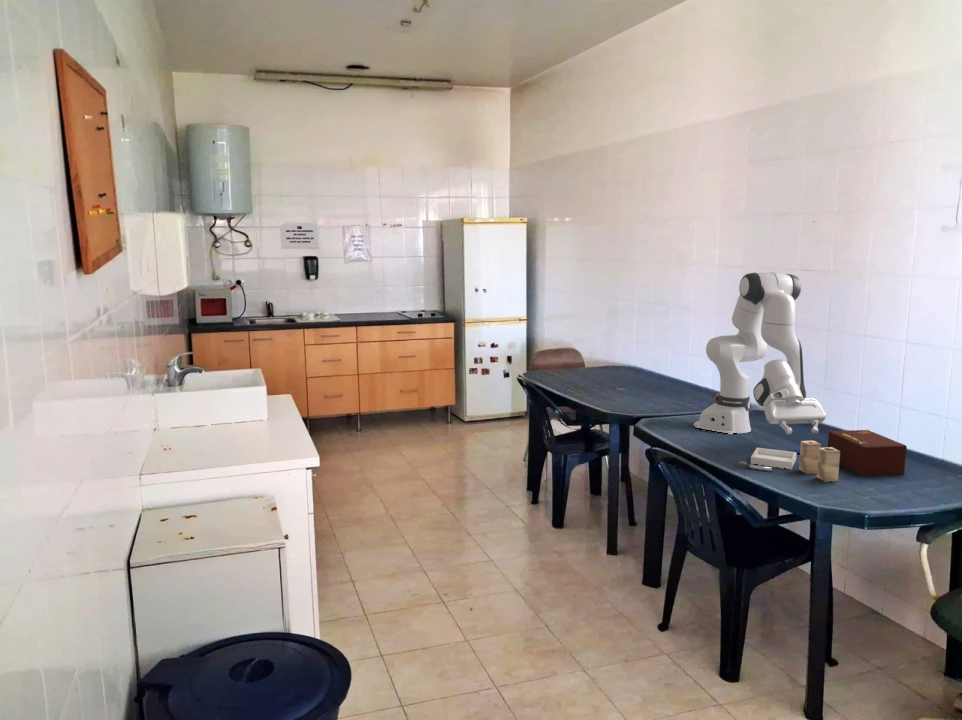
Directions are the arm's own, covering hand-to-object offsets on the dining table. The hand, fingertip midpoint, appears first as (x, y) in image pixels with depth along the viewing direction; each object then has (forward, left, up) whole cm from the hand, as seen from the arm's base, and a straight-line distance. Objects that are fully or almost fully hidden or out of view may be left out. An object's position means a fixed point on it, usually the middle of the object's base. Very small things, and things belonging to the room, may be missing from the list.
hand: (802, 432), depth 248 cm
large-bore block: (+9, -10, -12) cm, 18 cm away
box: (+20, +13, -12) cm, 26 cm away
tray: (-9, +2, -12) cm, 15 cm away
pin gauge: (-13, -10, -12) cm, 20 cm away
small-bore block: (+3, -4, -12) cm, 13 cm away
